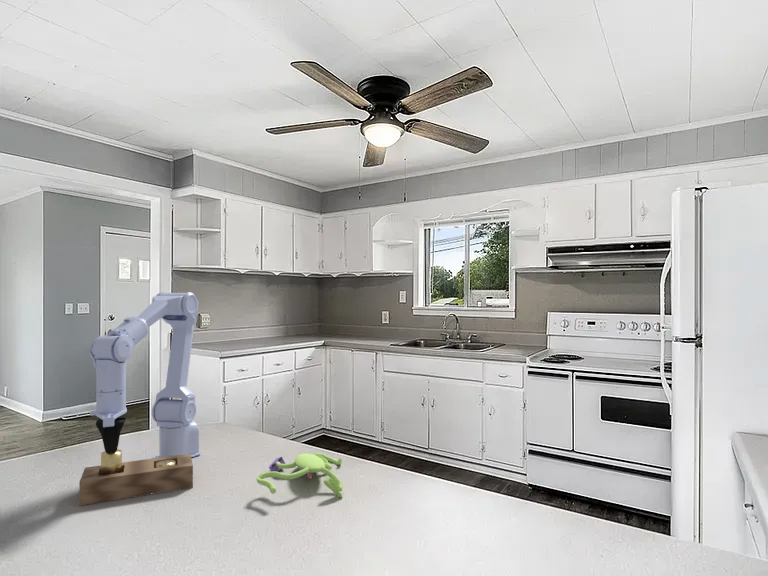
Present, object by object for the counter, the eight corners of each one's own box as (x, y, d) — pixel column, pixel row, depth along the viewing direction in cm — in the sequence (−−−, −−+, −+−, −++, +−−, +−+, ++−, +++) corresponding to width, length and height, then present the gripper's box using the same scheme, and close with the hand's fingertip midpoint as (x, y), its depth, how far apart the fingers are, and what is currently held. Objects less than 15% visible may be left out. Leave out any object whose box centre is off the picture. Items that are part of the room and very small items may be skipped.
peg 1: (122, 470, 111) (122, 448, 111) (121, 476, 107) (121, 453, 107) (101, 473, 109) (101, 450, 109) (100, 479, 105) (100, 456, 105)
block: (190, 473, 119) (190, 453, 119) (192, 487, 111) (192, 465, 111) (85, 489, 110) (85, 467, 110) (79, 505, 102) (79, 481, 102)
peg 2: (175, 480, 115) (175, 458, 115) (175, 486, 112) (175, 464, 112) (156, 482, 114) (156, 461, 114) (156, 489, 110) (156, 467, 110)
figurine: (252, 510, 101) (252, 483, 101) (270, 463, 127) (270, 442, 127) (342, 506, 102) (342, 479, 102) (341, 461, 129) (341, 439, 129)
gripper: (94, 385, 113) (94, 444, 113) (86, 398, 100) (86, 464, 100) (128, 383, 116) (128, 440, 116) (125, 395, 103) (125, 459, 103)
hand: (111, 451), depth 108 cm, fingers closed
